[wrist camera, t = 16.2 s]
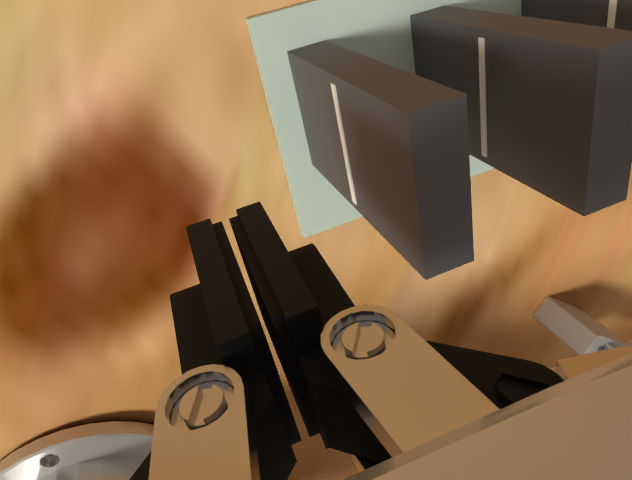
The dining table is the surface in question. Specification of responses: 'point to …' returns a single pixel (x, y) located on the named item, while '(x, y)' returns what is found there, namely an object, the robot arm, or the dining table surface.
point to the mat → (350, 33)
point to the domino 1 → (390, 150)
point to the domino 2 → (538, 98)
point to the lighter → (576, 327)
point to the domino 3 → (582, 12)
